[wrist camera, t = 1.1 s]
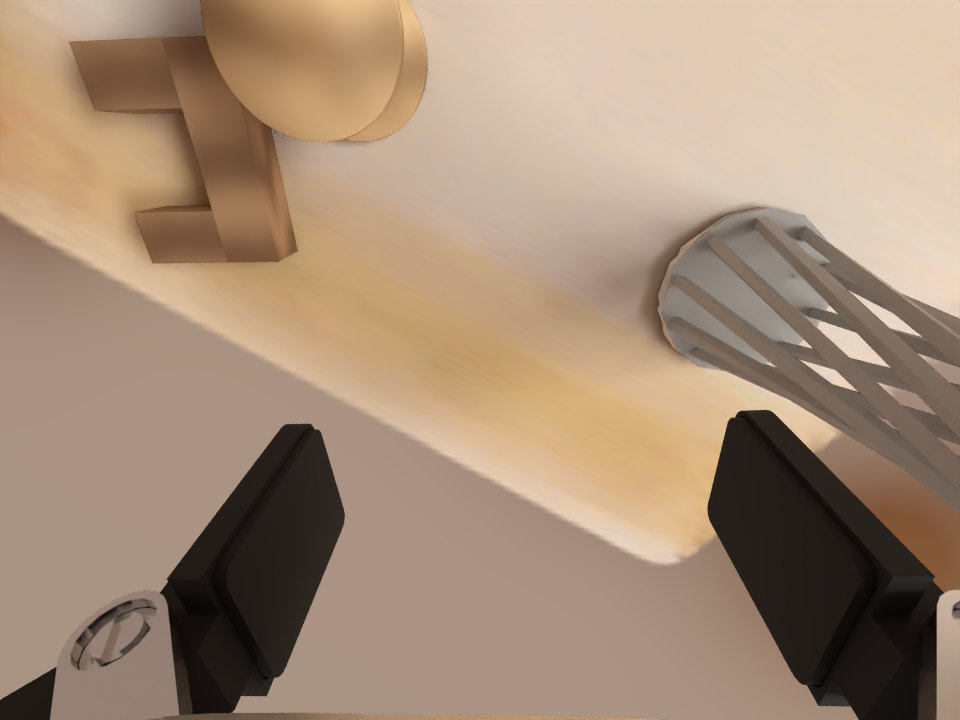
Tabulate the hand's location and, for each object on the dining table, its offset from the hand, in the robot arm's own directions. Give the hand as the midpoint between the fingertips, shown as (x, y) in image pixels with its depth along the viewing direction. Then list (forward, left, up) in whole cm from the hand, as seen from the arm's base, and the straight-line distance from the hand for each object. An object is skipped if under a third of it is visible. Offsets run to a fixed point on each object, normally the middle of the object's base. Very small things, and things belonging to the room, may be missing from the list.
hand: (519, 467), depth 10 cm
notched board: (-6, -22, -28) cm, 36 cm away
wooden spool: (-12, -10, -28) cm, 32 cm away
